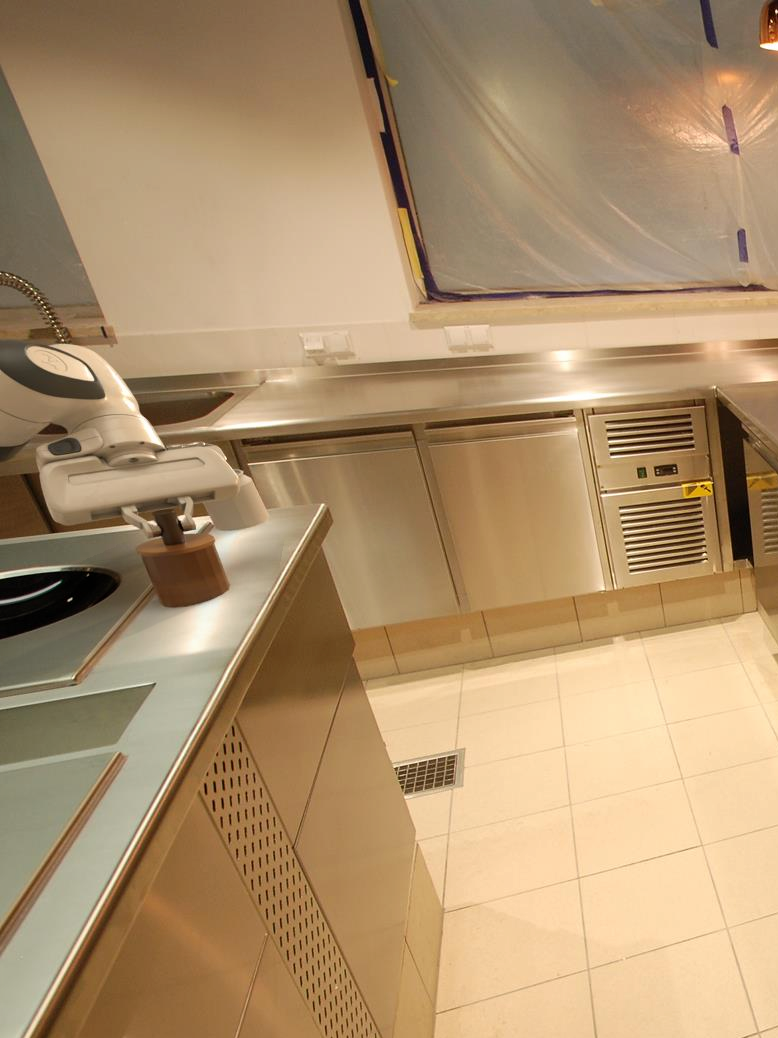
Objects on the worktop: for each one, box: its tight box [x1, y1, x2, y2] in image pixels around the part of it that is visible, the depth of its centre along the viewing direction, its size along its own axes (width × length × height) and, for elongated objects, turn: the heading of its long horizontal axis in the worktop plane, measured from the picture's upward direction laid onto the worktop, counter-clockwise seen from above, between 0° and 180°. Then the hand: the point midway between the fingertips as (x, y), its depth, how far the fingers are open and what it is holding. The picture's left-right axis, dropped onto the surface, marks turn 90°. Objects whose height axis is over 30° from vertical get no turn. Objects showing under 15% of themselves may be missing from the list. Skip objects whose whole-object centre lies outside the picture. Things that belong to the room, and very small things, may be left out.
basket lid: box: [135, 508, 216, 556], centre depth 117 cm, size 8×8×6 cm
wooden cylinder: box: [140, 543, 231, 609], centre depth 119 cm, size 8×8×8 cm
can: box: [202, 468, 270, 532], centre depth 142 cm, size 8×8×12 cm
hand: (172, 532), depth 116 cm, fingers closed on basket lid, 2 cm apart
